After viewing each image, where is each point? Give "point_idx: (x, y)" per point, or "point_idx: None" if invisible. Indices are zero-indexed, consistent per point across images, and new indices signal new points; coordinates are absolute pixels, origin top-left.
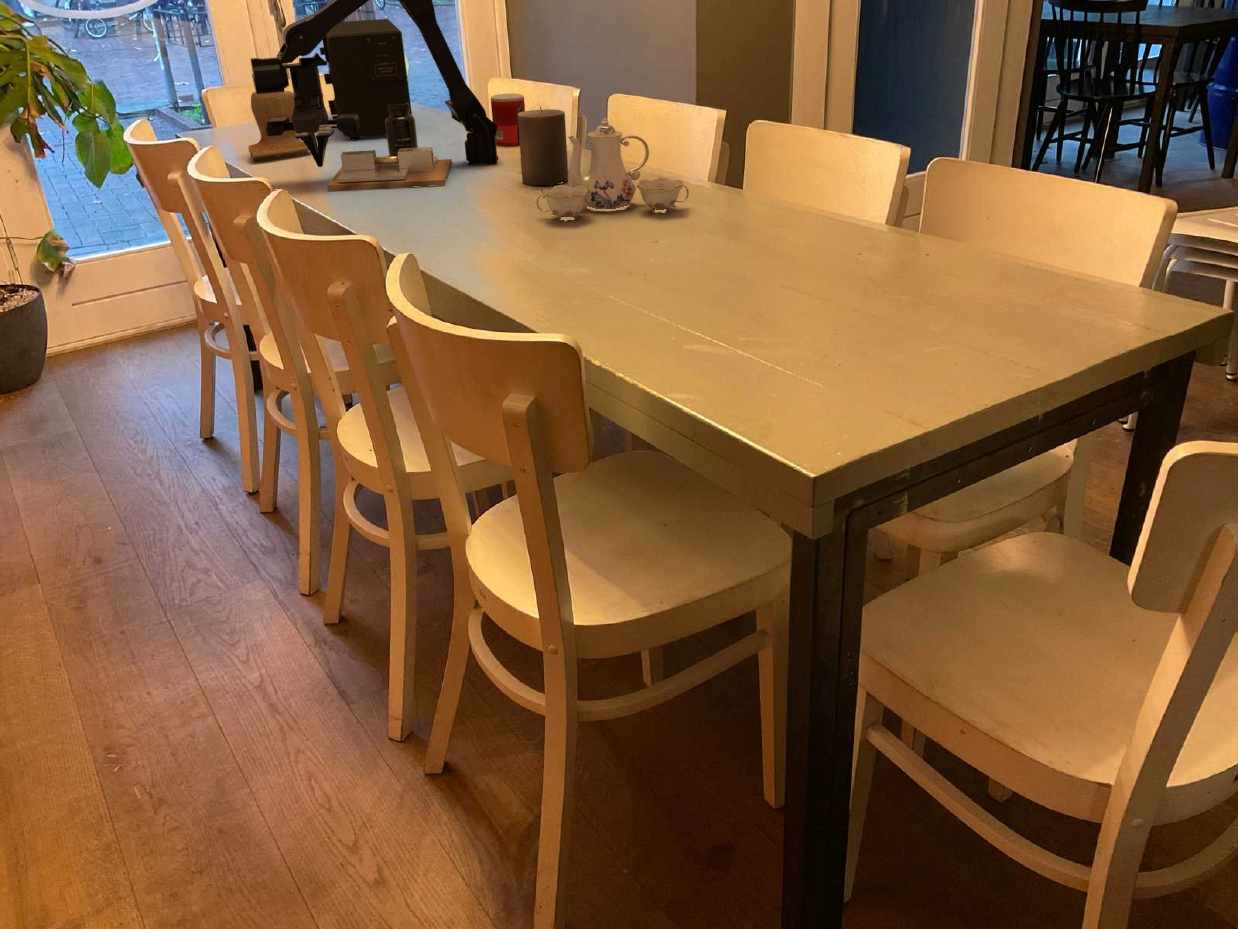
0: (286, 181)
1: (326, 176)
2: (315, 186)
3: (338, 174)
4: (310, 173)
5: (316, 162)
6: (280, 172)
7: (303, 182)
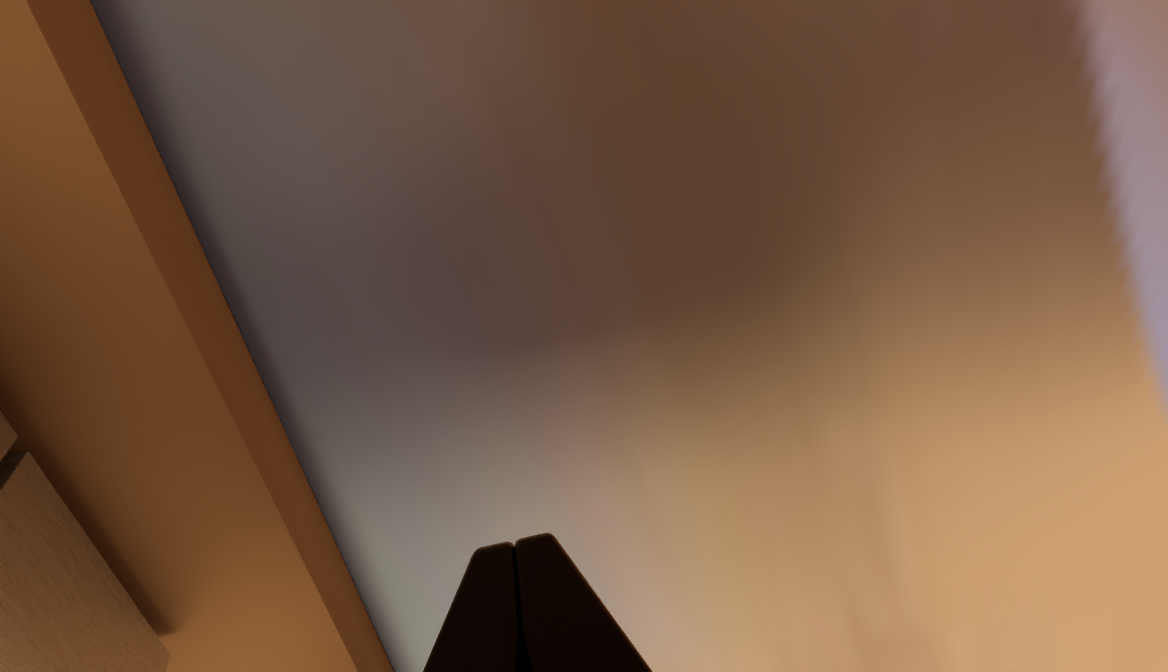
0: (1026, 346)
1: None
2: (470, 23)
3: (224, 507)
4: (790, 667)
5: (576, 584)
6: (1100, 660)
7: (777, 302)
